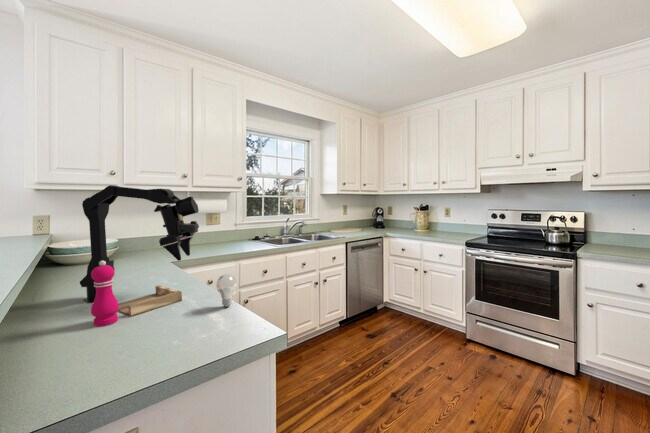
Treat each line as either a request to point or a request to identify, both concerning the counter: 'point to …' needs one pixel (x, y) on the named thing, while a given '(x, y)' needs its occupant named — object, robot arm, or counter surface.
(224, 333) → the counter surface
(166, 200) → the robot arm
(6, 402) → the counter surface
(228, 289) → the light bulb
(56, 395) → the counter surface
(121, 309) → the brown flat rimmed piece
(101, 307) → the pepper mill
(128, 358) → the counter surface
